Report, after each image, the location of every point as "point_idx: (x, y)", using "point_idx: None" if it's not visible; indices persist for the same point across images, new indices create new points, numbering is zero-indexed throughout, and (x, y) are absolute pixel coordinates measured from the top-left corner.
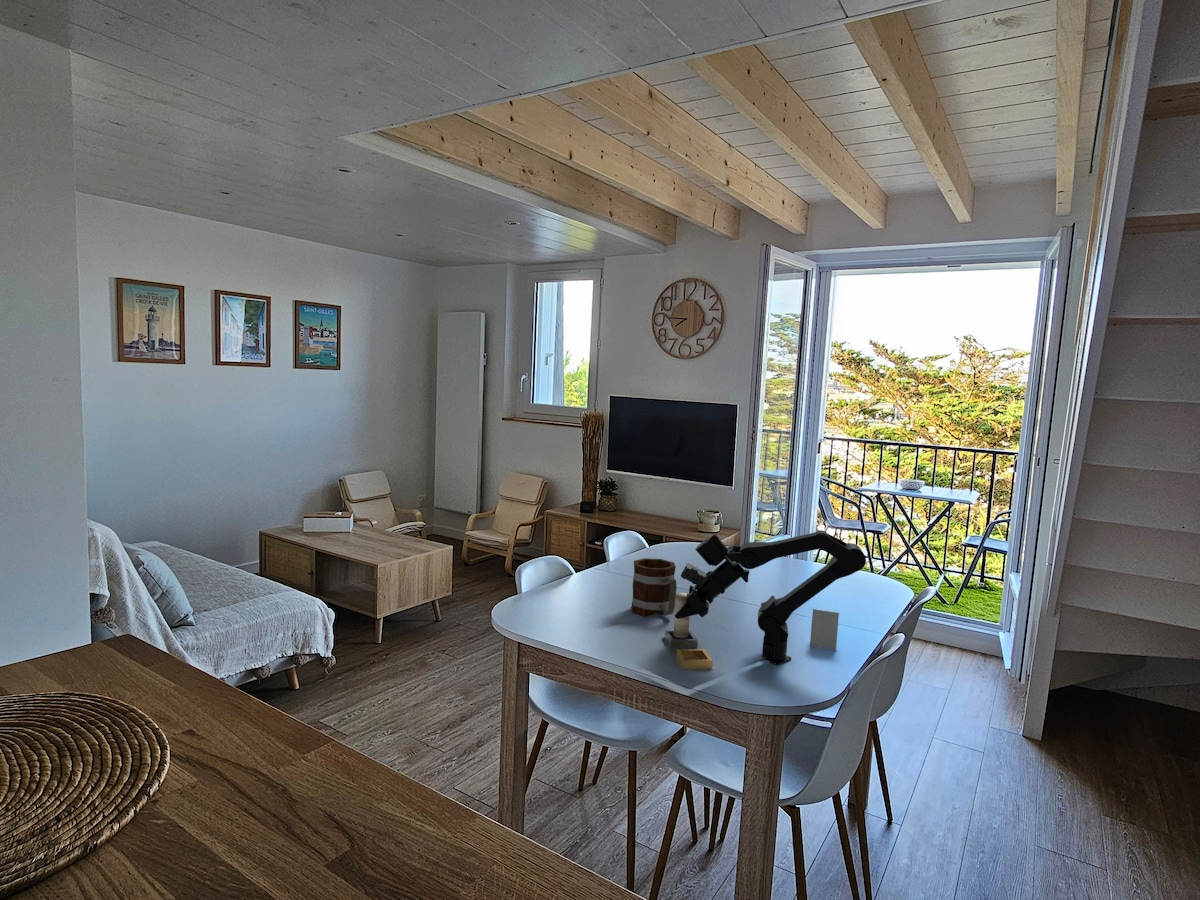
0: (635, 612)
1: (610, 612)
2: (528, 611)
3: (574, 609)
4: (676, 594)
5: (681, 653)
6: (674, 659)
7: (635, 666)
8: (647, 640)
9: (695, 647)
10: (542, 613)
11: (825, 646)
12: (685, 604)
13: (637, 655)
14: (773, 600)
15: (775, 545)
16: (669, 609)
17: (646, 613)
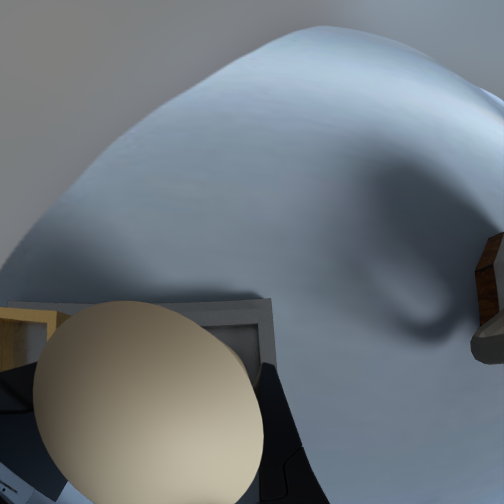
0: (489, 243)
1: (472, 183)
2: (401, 58)
3: (451, 118)
4: (149, 318)
5: (29, 317)
6: (57, 303)
7: (74, 192)
8: (280, 251)
9: None
10: (403, 69)
11: None
12: (8, 372)
13: (141, 201)
14: None
15: None
16: (479, 342)
17: (484, 271)
